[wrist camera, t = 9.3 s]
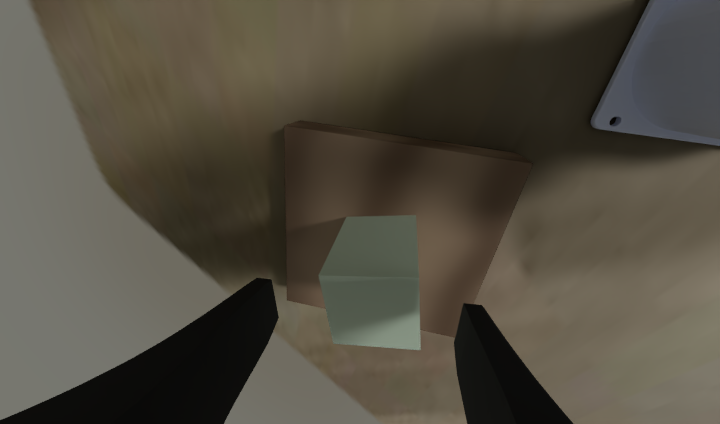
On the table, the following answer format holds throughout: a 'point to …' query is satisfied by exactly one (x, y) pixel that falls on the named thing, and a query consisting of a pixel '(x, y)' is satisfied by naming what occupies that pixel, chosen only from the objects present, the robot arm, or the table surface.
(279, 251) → the table surface
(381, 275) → the sage block
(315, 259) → the walnut base
